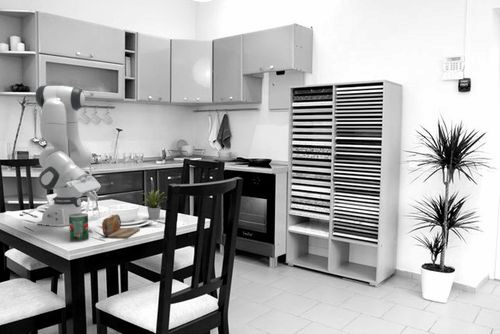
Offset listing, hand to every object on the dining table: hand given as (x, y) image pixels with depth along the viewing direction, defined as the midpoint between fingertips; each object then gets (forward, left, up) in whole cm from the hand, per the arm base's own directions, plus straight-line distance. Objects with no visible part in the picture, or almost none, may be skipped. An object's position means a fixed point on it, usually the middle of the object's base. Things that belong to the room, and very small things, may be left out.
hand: (96, 199), depth 203 cm
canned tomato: (-3, -11, -16) cm, 20 cm away
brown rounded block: (+7, 0, -16) cm, 18 cm away
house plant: (+14, +34, -16) cm, 40 cm away
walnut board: (+13, 0, -16) cm, 21 cm away
